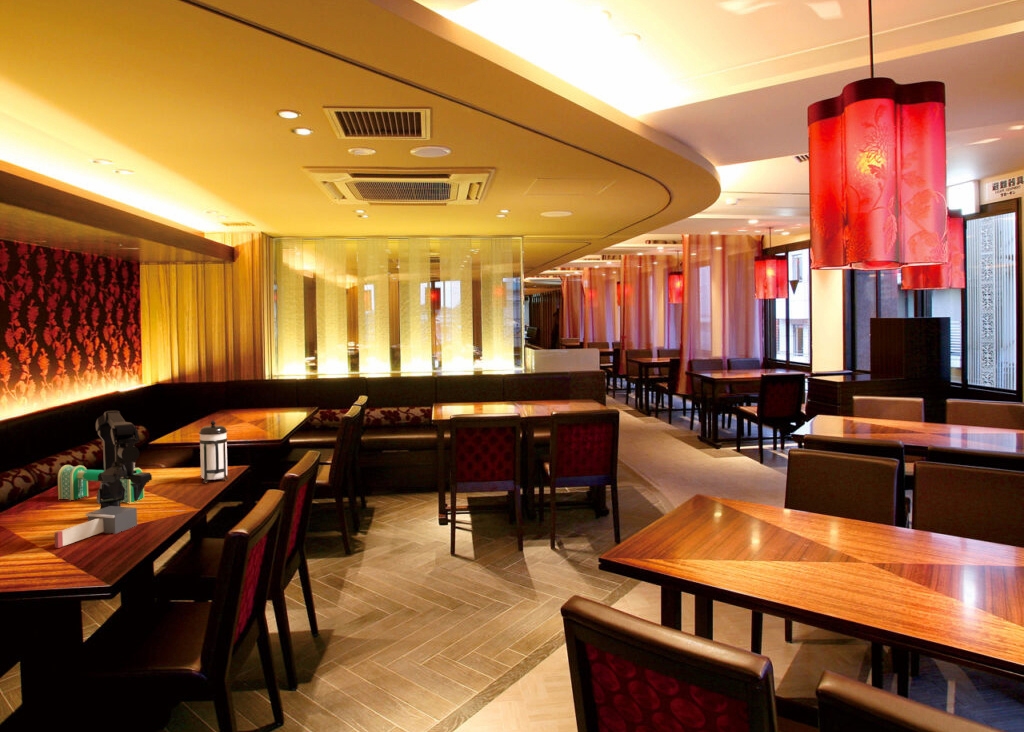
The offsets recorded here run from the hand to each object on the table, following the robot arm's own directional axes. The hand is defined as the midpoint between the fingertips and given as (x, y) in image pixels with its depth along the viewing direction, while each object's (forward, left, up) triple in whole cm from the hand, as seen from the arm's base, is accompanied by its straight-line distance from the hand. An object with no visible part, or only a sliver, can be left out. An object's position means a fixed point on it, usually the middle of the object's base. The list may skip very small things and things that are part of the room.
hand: (125, 499), depth 233 cm
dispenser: (-2, -8, -12) cm, 15 cm away
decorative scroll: (-36, -48, -12) cm, 61 cm away
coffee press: (-78, -23, -12) cm, 83 cm away
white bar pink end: (+12, -8, -12) cm, 18 cm away
